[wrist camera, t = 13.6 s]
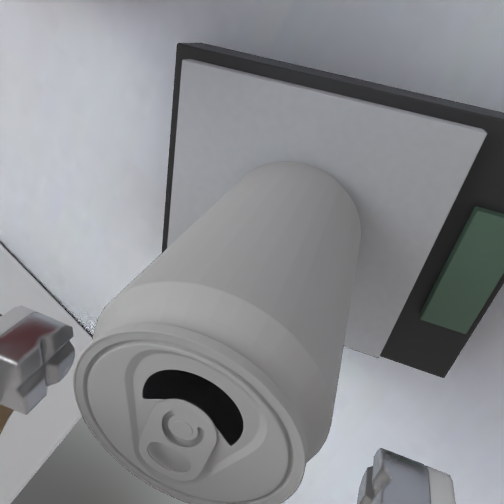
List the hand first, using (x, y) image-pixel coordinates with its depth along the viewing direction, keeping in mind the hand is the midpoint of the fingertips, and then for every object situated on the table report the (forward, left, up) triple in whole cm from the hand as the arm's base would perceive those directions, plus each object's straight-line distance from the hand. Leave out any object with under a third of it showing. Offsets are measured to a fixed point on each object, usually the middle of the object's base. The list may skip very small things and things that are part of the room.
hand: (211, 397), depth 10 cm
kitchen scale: (-1, 0, -14) cm, 14 cm away
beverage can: (0, 0, -11) cm, 11 cm away
